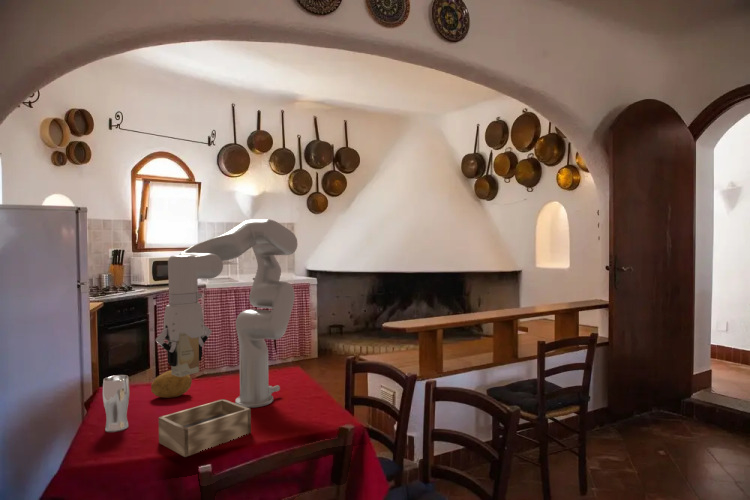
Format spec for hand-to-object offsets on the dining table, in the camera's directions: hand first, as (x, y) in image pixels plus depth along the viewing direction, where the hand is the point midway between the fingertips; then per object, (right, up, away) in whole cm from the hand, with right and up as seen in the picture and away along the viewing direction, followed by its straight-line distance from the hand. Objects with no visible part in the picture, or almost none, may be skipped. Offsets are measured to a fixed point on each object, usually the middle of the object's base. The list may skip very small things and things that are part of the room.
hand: (185, 362), depth 137 cm
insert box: (+6, -21, 0) cm, 22 cm away
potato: (-19, -21, +37) cm, 47 cm away
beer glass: (-23, -21, +8) cm, 32 cm away
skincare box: (0, -3, 0) cm, 3 cm away
